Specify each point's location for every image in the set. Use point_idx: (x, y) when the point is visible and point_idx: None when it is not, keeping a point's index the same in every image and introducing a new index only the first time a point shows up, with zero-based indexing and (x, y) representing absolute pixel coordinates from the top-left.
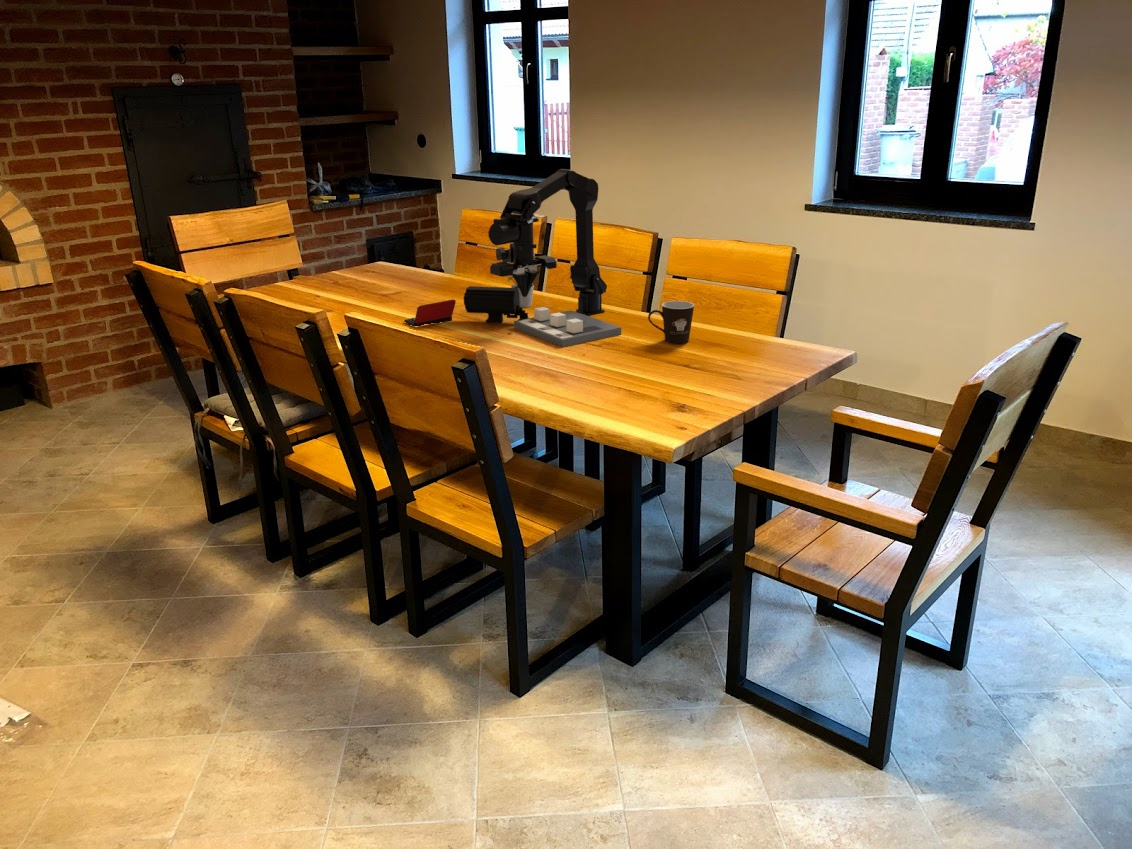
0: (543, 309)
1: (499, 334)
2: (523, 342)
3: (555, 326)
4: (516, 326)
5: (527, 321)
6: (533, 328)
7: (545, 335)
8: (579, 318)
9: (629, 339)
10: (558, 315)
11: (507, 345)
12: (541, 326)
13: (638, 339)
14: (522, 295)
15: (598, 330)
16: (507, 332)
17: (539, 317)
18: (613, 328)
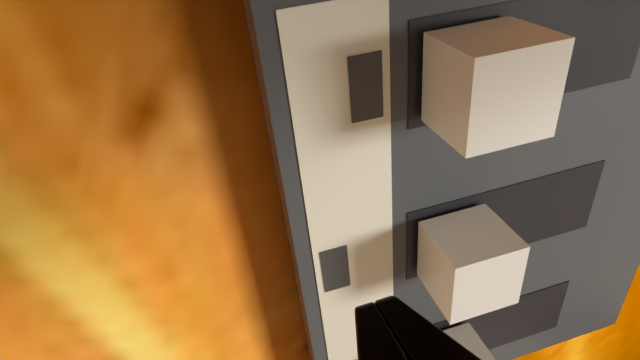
0: (511, 129)
1: (50, 99)
2: (175, 307)
3: (418, 265)
4: (247, 10)
5: (344, 59)
6: (295, 240)
7: (307, 325)
8: (634, 139)
9: (560, 352)
10: (475, 306)
11: (60, 335)
12: (360, 221)
13: (577, 356)
14: (355, 325)
15: (526, 341)
16: (136, 73)
17: (434, 115)
18: (585, 329)
